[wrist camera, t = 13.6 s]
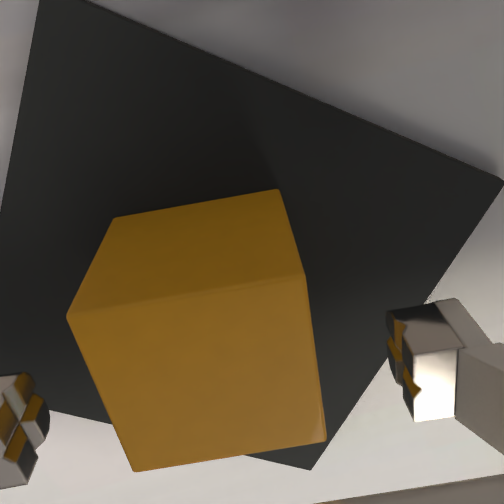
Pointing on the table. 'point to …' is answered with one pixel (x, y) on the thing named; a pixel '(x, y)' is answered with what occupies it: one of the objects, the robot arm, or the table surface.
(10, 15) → the table surface
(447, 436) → the table surface
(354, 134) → the mat
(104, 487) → the table surface
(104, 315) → the block
